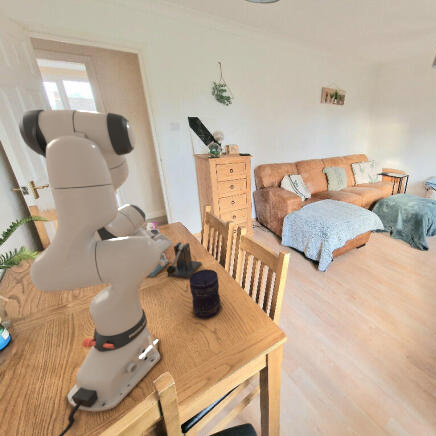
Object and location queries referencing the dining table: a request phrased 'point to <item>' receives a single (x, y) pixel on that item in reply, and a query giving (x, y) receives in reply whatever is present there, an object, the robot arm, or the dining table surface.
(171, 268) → the power lever
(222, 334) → the dining table surface
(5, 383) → the dining table surface
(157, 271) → the panel
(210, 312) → the storage jar
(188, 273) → the switch bracket
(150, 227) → the candy bar box
